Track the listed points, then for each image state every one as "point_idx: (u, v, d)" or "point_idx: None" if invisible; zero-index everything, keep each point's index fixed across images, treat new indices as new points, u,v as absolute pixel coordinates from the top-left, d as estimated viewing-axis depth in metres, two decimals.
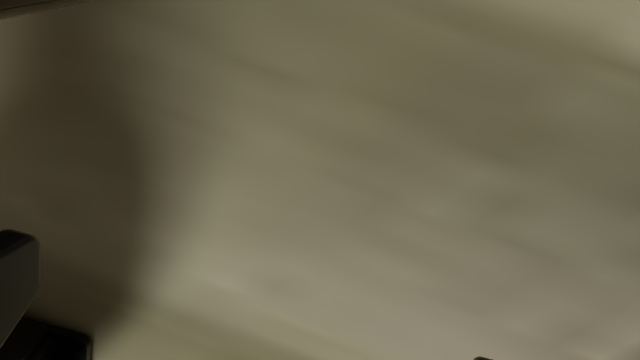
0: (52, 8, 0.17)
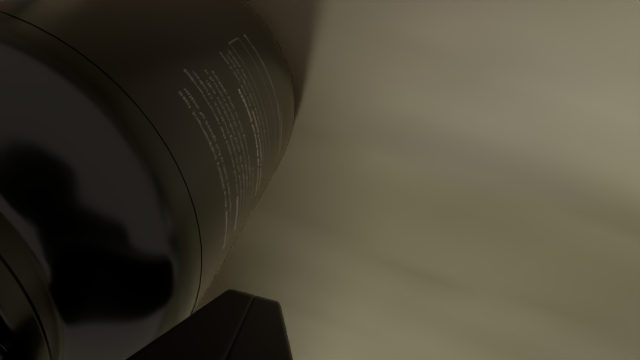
0: None
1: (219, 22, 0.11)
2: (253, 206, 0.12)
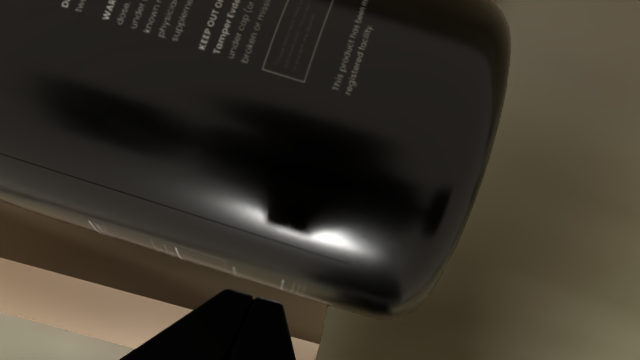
0: (263, 266, 0.09)
1: None
2: (209, 82, 0.08)
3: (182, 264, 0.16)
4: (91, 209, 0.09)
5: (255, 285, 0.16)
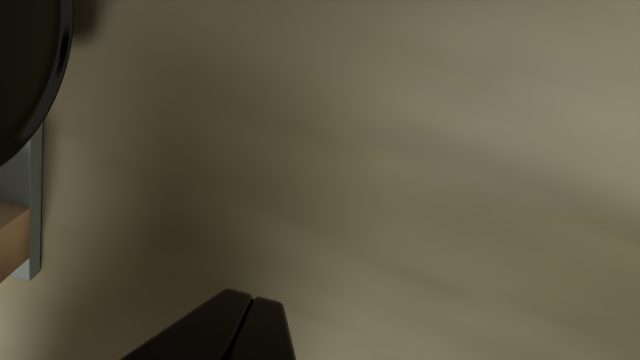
0: None
1: None
2: None
3: None
4: None
5: None
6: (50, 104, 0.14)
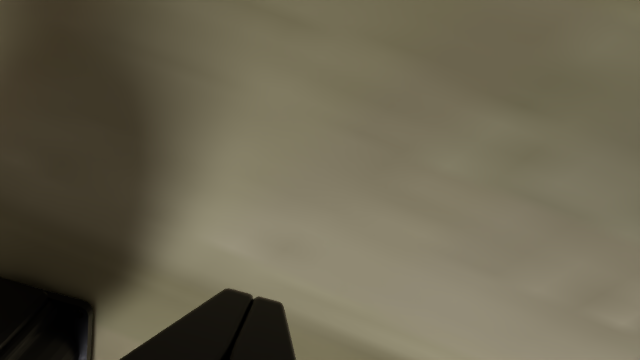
0: None
1: None
2: None
3: None
4: None
5: None
6: None
